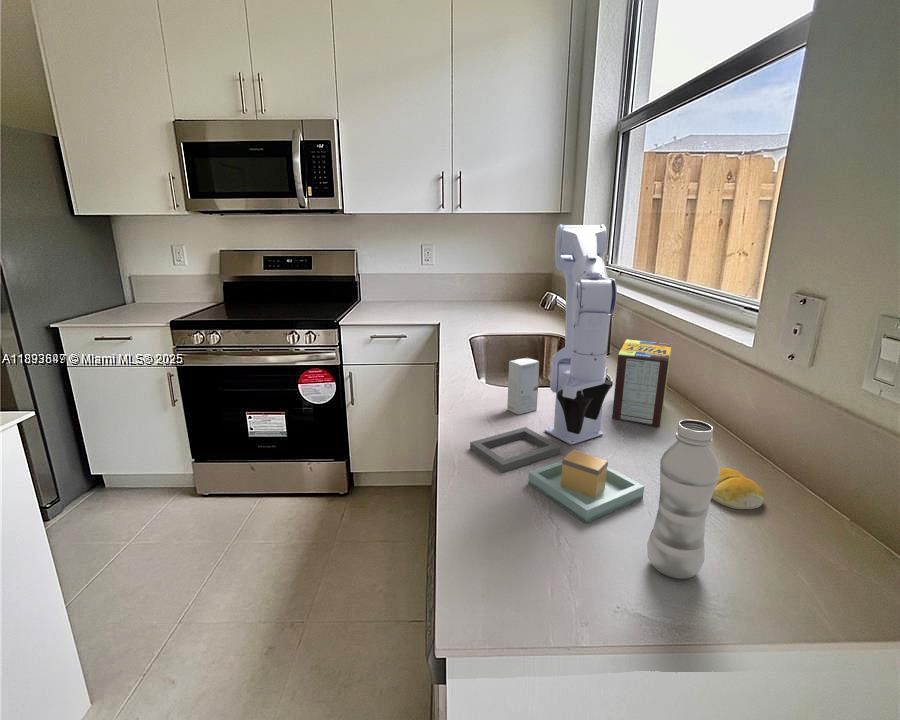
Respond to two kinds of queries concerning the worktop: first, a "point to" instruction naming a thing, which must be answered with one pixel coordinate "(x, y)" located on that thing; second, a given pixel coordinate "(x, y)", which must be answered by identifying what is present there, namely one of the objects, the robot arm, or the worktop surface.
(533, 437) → the grey rectangular frame
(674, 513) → the plastic bottle
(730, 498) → the bread roll
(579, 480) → the tan box
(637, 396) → the protein box
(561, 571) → the worktop surface
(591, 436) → the robot arm
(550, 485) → the parts tray
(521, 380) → the skincare box
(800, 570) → the worktop surface
